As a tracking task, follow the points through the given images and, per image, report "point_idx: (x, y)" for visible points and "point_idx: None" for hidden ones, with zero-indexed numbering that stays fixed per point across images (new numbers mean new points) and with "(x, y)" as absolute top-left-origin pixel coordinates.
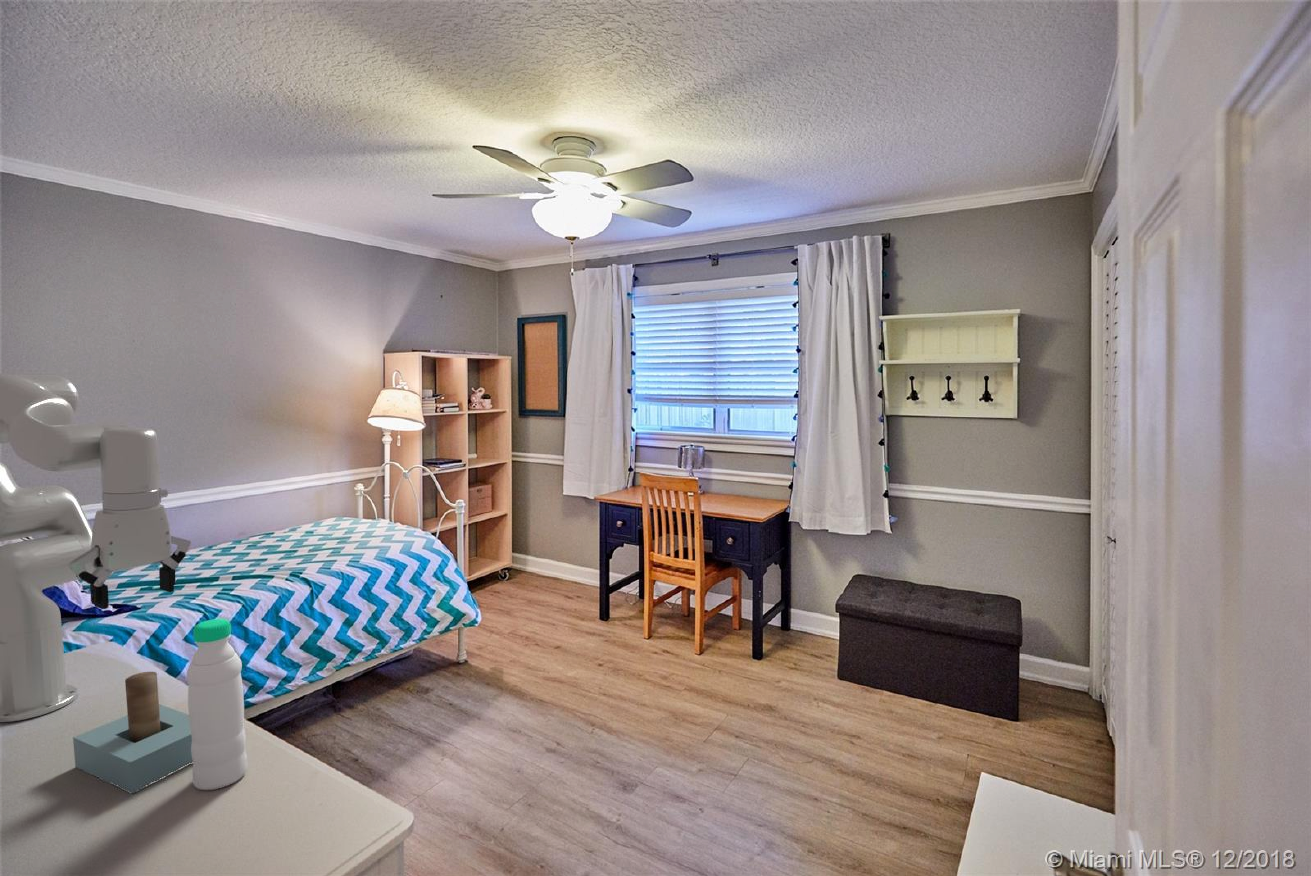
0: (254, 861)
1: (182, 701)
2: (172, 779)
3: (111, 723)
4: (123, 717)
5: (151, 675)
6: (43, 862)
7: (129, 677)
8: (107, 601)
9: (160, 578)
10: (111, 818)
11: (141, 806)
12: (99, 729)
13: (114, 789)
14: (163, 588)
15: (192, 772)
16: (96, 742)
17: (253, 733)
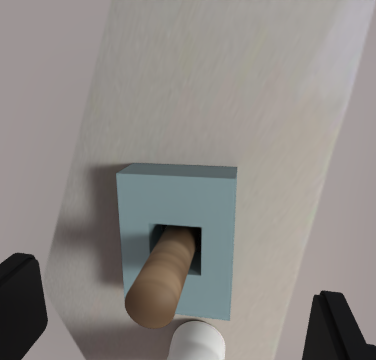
0: None
1: (322, 96)
2: None
3: (163, 181)
4: (182, 178)
5: (162, 318)
6: (57, 305)
7: (137, 288)
8: (25, 348)
9: (332, 358)
10: (110, 300)
11: None
12: (145, 185)
13: None
14: (311, 331)
15: (172, 340)
16: (126, 220)
17: (285, 297)
